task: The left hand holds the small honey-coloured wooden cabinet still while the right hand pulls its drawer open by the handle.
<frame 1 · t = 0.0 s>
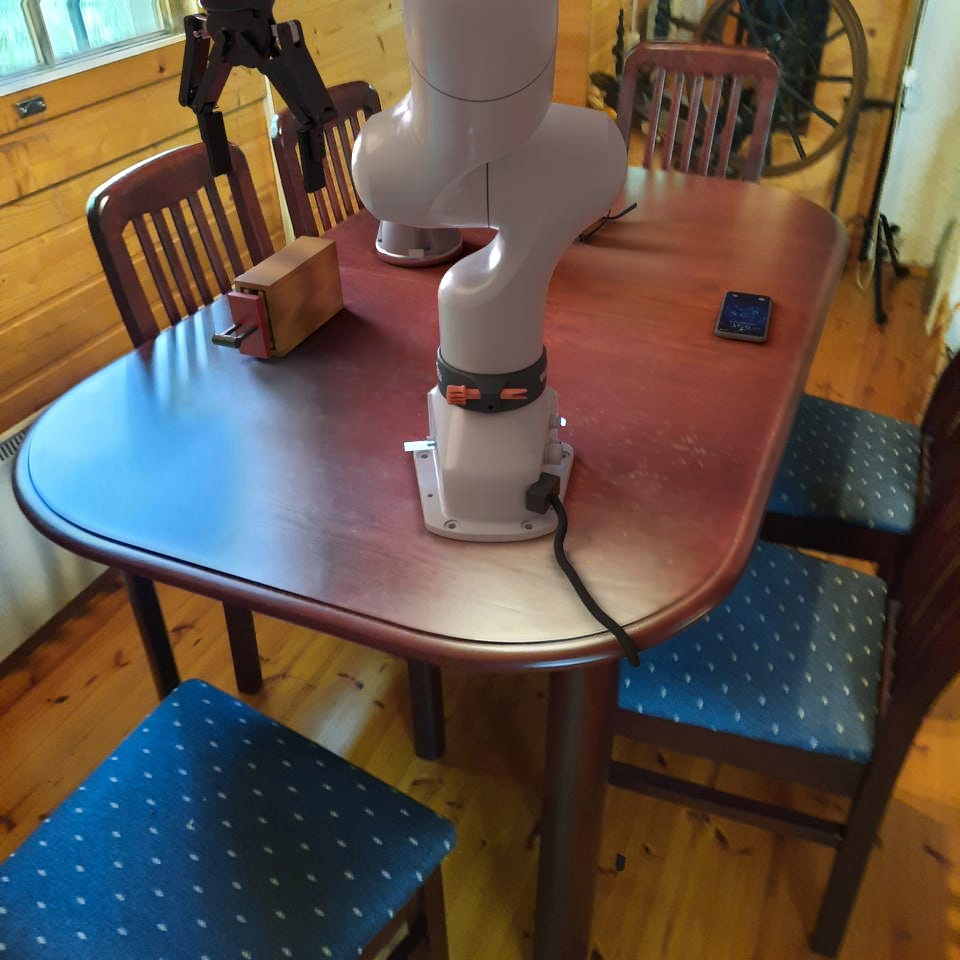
left hand: (267, 181, 96), 28 cm above the table, tool pointing down, fingers open, 13 cm apart
smartphone: (743, 319, 128), on the table
drawer: (270, 311, 121), point 5 cm above the table, slide at 1.4 cm
cabinet: (298, 327, 129), on the table
sunglasses: (592, 225, 161), on the table
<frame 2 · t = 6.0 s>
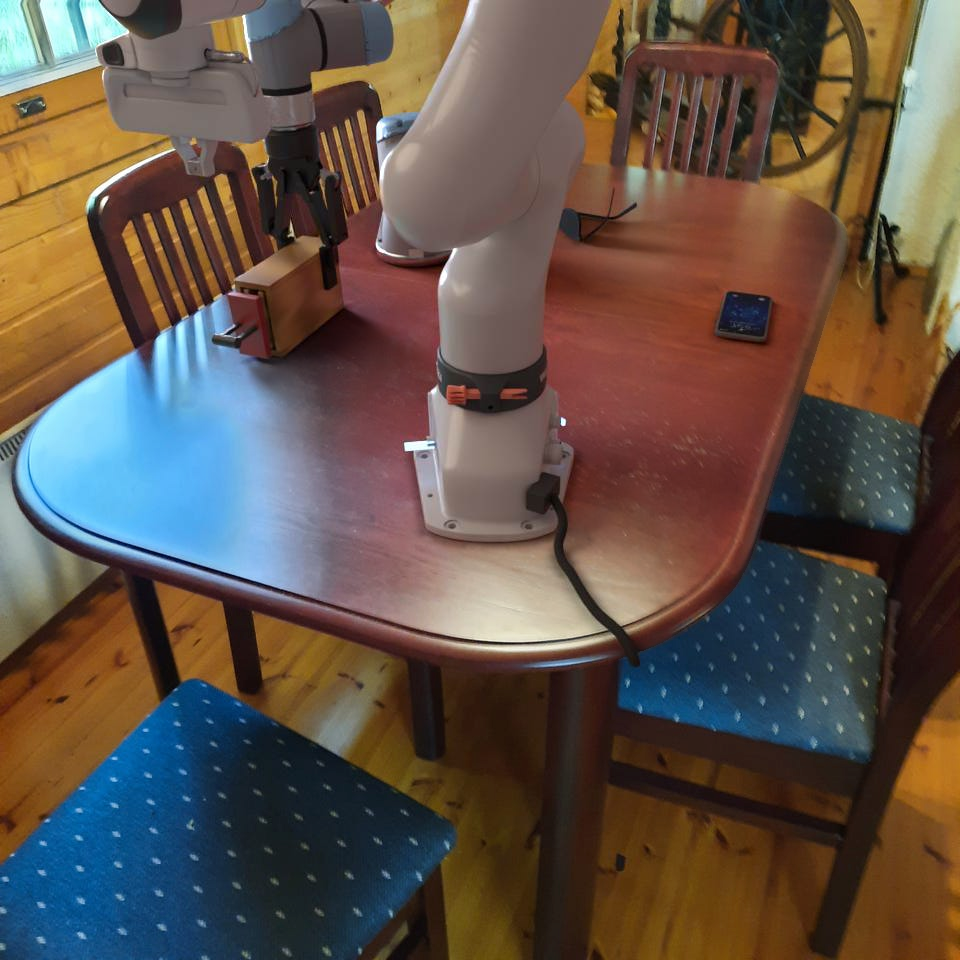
left hand: (312, 283, 130), 5 cm above the table, tool pointing down, fingers closed on cabinet, 6 cm apart
right hand: (201, 174, 103), 27 cm above the table, tool pointing down, fingers closed
cabinet: (298, 327, 129), on the table, touching left hand
everything else where it was.
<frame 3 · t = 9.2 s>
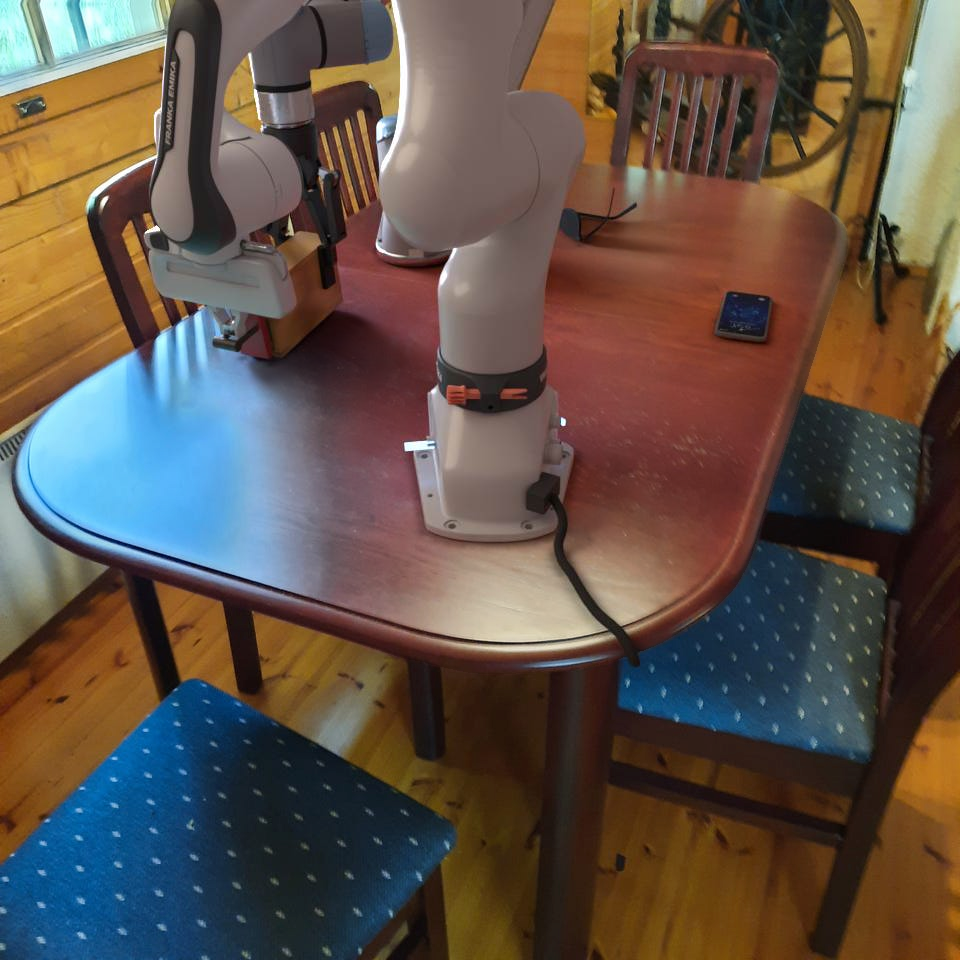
left hand: (310, 282, 129), 5 cm above the table, tool pointing down, fingers closed on cabinet, 6 cm apart
right hand: (233, 334, 116), 5 cm above the table, tool pointing down, fingers closed, pressing on drawer
drawer: (269, 310, 121), point 6 cm above the table, slide at 0.9 cm, touching right hand
cabinet: (297, 325, 129), on the table, touching left hand
everything else where it was.
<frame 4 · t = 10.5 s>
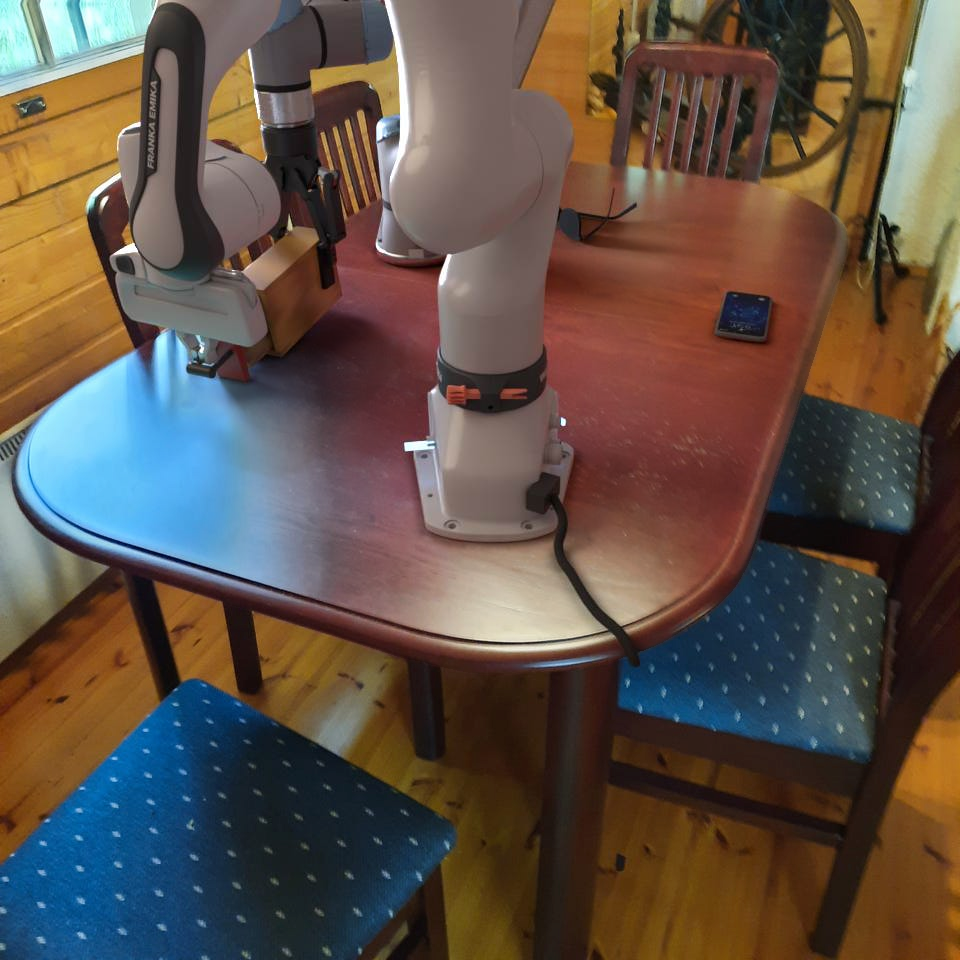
left hand: (309, 282, 129), 5 cm above the table, tool pointing down, fingers closed on cabinet, 6 cm apart
right hand: (203, 360, 112), 5 cm above the table, tool pointing down, fingers closed, pressing on drawer
drawer: (246, 330, 117), point 5 cm above the table, slide at 6.5 cm, touching right hand
cabinet: (297, 321, 128), point 1 cm above the table, tilted 7°, touching left hand
everything else where it was.
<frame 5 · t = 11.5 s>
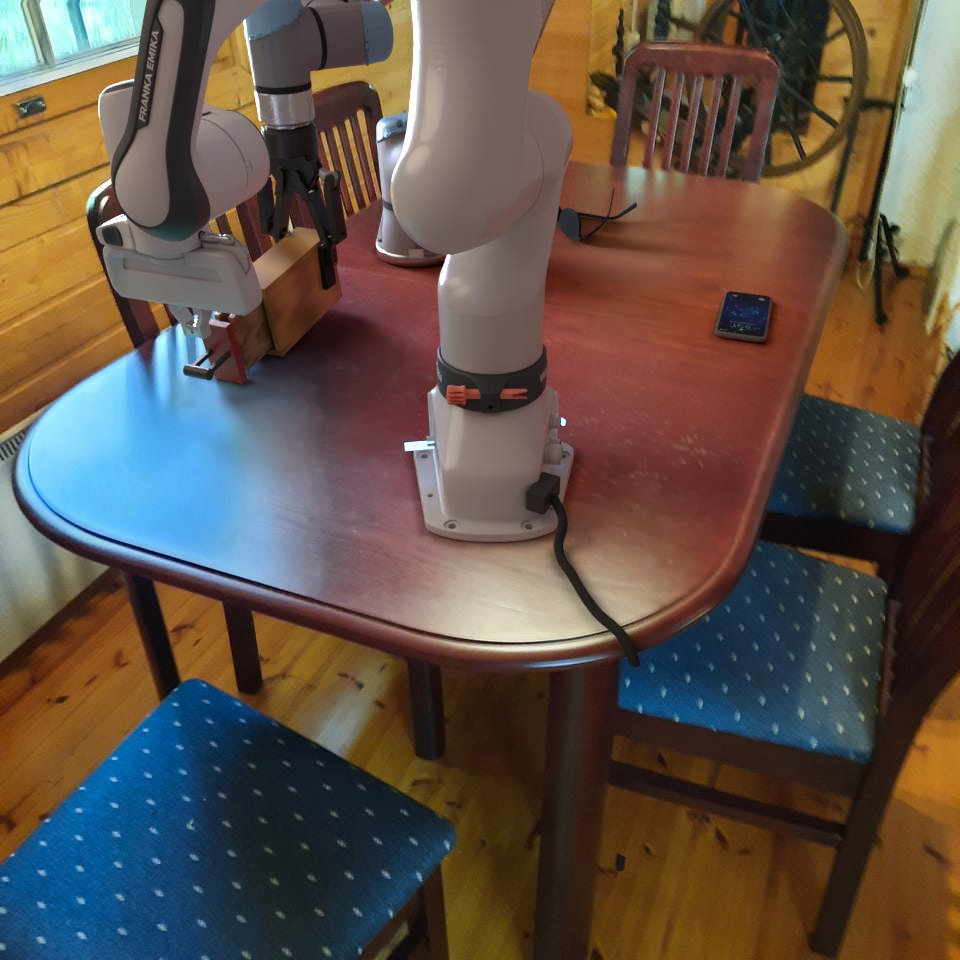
left hand: (310, 282, 130), 5 cm above the table, tool pointing down, fingers closed on cabinet, 6 cm apart
right hand: (198, 335, 108), 9 cm above the table, tool pointing down, fingers closed
drawer: (243, 332, 117), point 5 cm above the table, slide at 7.4 cm
cabinet: (297, 322, 129), point 1 cm above the table, tilted 6°, touching left hand
everything else where it was.
when the left hand's fingers open (5 cm above the table, at t = 12.6 s): cabinet stays where it is, on the table.
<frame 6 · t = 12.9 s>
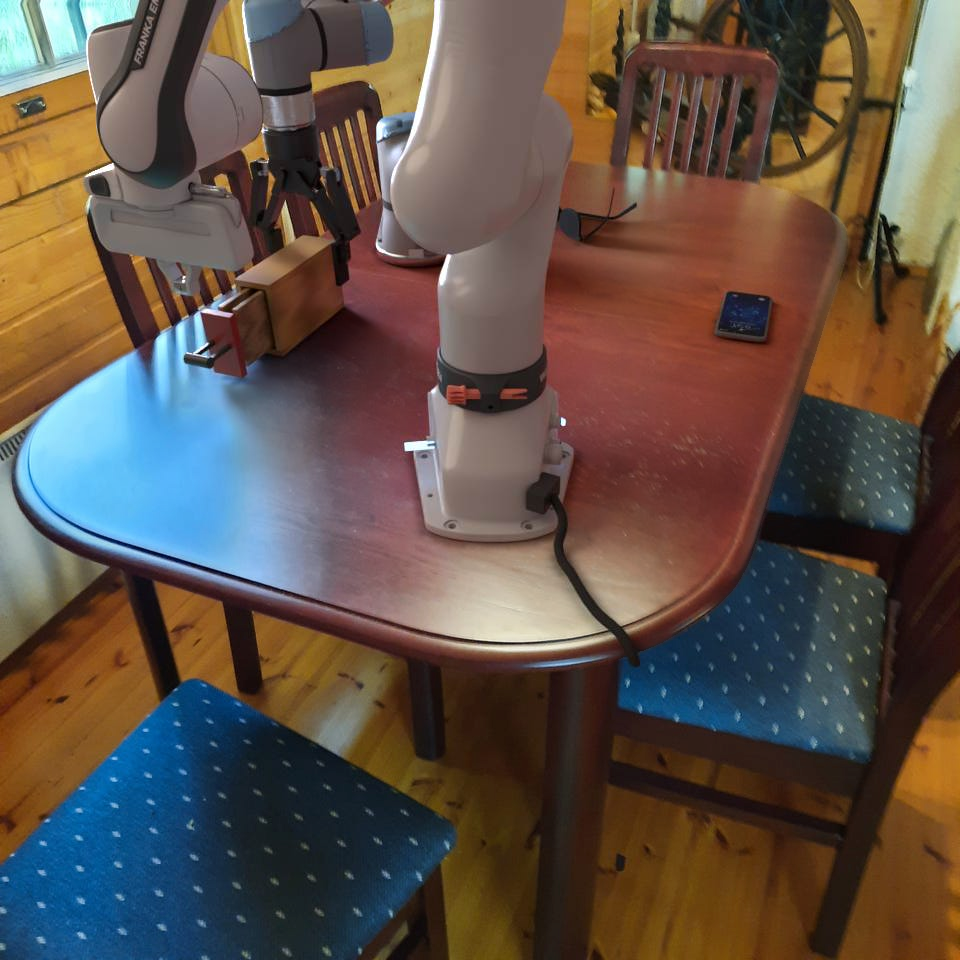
left hand: (311, 277, 129), 6 cm above the table, tool pointing down, fingers open, 10 cm apart
right hand: (187, 293, 105), 15 cm above the table, tool pointing down, fingers closed
drawer: (245, 328, 117), point 5 cm above the table, slide at 7.3 cm
cabinet: (298, 327, 129), on the table
everything else where it was.
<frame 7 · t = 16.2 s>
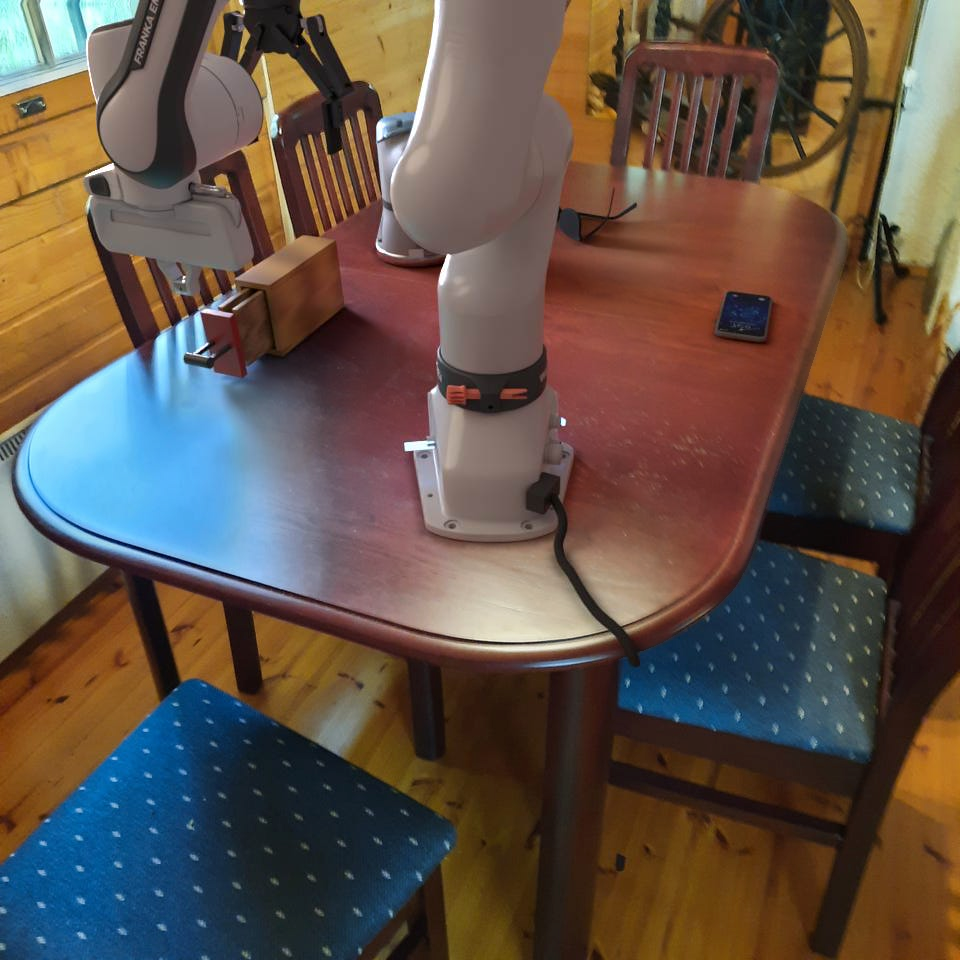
left hand: (292, 147, 118), 25 cm above the table, tool pointing down, fingers open, 13 cm apart
right hand: (187, 293, 105), 15 cm above the table, tool pointing down, fingers closed
nothing on the table moved.
at the end: drawer slide at 7.3 cm; cabinet tilted 0°; cabinet never tilted more than 7° during the clip; cabinet moved 0.2 cm from its start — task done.
